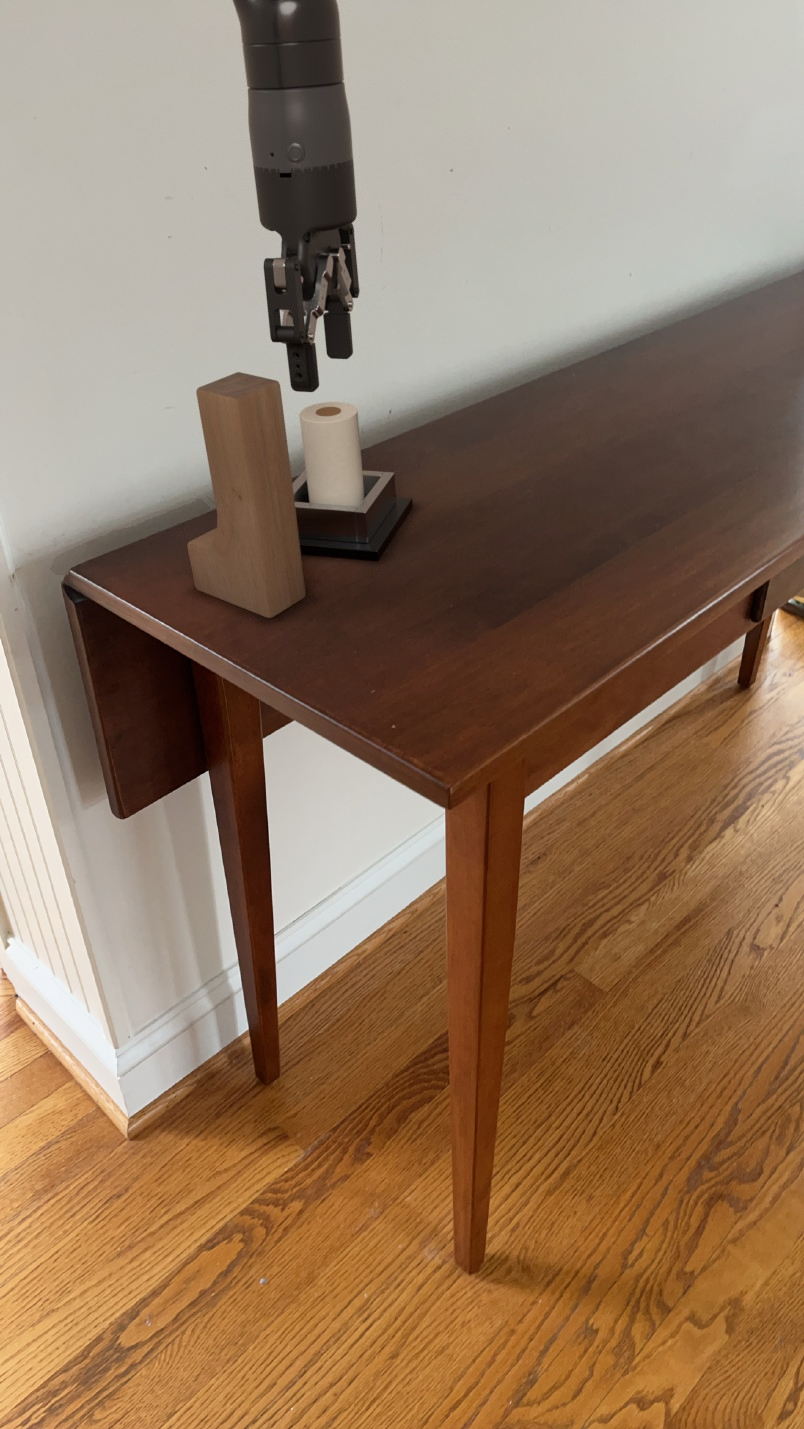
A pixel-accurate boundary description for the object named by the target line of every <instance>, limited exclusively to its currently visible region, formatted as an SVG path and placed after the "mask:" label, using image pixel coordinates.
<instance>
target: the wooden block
mask: <svg viewBox="0 0 804 1429" xmlns="http://www.w3.org/2000/svg"><path fill="white" fill-rule="evenodd" d="M195 394H196V397H197V398H196V399H197V406H198V410H199V416H200V421H201V430H202V434H203V440H204V445H205V452H206V456H207V463H208V468H209V475H210V481H211V486H212V493H213V497H214V498H213V499H214V504H215V509H216V517H217V518H216V527H215V528H213V529H211V530H210V531H208V532H206V533H204V534H202V535H199V536H198V537H196V538H194V539H192V540H190V541H188V542H187V544H186V545H187V546H186V547H187V552H188V557H189V562H190V567H191V573H192V577H193V583H194V587H195V588H196V590H197V591H199V592H201V593H204V594H207V595H209V596H211V597H214V598H217V599H219V600H222V601H224V602H226V603H229V604H231V605H234V606H237V607H239V608H241V609H244V610H246V611H248V612H251V613H254V614H257V615H259V616H262V617H264V618H267V619H271V618H274V617H275V616H277V615H279V614H280V613H282V612H283V611H284V612H285V610H287V609H288V608H290V607H292V606H293V605H295V604H296V603H298V602H300V601H302V600H303V599H304V598H305V597H306V594H307V592H306V583H305V574H304V567H303V560H302V558H303V557H302V554H301V550H300V542H299V534H298V526H297V518H296V510H295V502H294V494H293V485H292V484H293V478H292V471H291V462H290V454H289V446H288V438H287V437H288V436H287V429H286V422H285V414H284V405H283V398H282V390H281V384H280V382H279V381H278V380H277V379H271V378H267V377H262V376H259V375H254V374H249V373H246V372H241V371H236V372H235V373H232V374H229V375H227V376H225V377H224V376H223V377H222V378H219V379H217V380H214V381H212V382H209V383H206V384H203V385H201V386H199V387H198V388H197V389H196V391H195Z"/></svg>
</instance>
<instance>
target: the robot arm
mask: <svg viewBox="0 0 804 1429" xmlns="http://www.w3.org/2000/svg"><path fill="white" fill-rule="evenodd" d="M232 3H233V6H234V9H235V13H236V16H237V19H238V22H239V27H240V35H241V36H240V37H241V44H242V45H241V47H242V55H243V64H244V73H245V79H246V80H245V82H246V87H247V120H248V121H247V122H248V132H249V141H250V142H249V143H250V149H251V158H252V167H253V175H254V183H255V191H256V198H257V199H256V200H257V208H258V217H259V222H260V225H261V226H262V227H263V228H264V229H265V230H268V231H270V232H276V233H277V234H278V235H279V236H280V238H281V245H280V246H281V252H280V257H265V259H264V261H263V274H264V275H263V276H264V287H265V297H266V305H267V315H268V326H269V336H270V337H269V338H270V341H271V342H272V343H281V344H285V346H286V347H285V348H286V356H287V365H288V373H289V383H290V388H291V389H292V390H293V391H294V392H297V393H299V392H301V393H314V392H316V390H318V389H319V387H320V378H319V377H320V376H319V368H318V358H317V357H318V356H317V347H316V342H315V337H316V331H317V330H316V329H317V323H318V319H319V318H321V317H322V318H323V328H324V341H325V349H326V350H325V351H326V356H327V357H328V358H329V359H331V360H348V359H349V358H351V357H352V355H353V354H354V346H353V332H352V320H351V312H353V309H354V305H355V304H354V299H358V298H359V296H360V283H359V282H360V281H359V271H358V260H357V251H356V240H355V228H354V224H353V223H354V222H355V221H356V220H357V216H358V206H357V194H356V180H355V179H356V178H355V163H354V152H353V151H354V150H353V135H352V123H351V114H350V108H349V104H348V98H347V91H346V85H345V82H344V81H345V75H344V74H345V73H344V61H343V44H342V38H341V37H342V30H341V29H342V28H341V18H340V10H339V4H338V0H232ZM281 312H282V316H281Z"/></svg>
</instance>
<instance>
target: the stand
mask: <svg viewBox="0 0 804 1429" xmlns="http://www.w3.org/2000/svg"><path fill="white" fill-rule="evenodd" d="M362 473H363V485H364V497H365V499H364V500H363V502H362V503H361V504H360V506H359V507H356V506H343V505H330V504H317V503H310V502H309V494H308V485H307V476H306V468H305V469H304V470H303V471H302V472H301V473H300V475H298V476H297V478H296V479H295V480H294V481H292V485H293V494H294V502H295V510H296V518H297V526H298V534H299V542H300V550H301V555H305V556H316V557H328V558H340V559H348V560H349V559H350V560H361V561H371V562H372V561H373V562H378V561H379V560H380V559H381V557H382V556H383V554H384V553H385V551H386V550H387V548H388V546H389V545H390V543H391V542H392V540H393V539H394V537H395V535H397V532H398V531H399V530H400V528H401V526H402V525H403V524H404V522H405V521H406V519H407V517H408V515H409V514H410V513H411V511H412V509H413V498H411V497H401V496H400V497H399V496H397V493H396V491H397V490H396V477H395V475H396V474H395V472H391V471H377V470H363V469H362Z"/></svg>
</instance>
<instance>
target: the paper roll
mask: <svg viewBox="0 0 804 1429" xmlns="http://www.w3.org/2000/svg"><path fill="white" fill-rule="evenodd" d="M358 413H359V412H358V408H357V407H356V406H355V405H353V404H351V403H348V402H343V401H342V402H341V401H327V402H319V403H314V404H311V405H309V406H306V407H304V408H303V409H302V410H300V412H299V415H298V416H299V423H300V432H301V440H302V441H301V442H302V450H303V458H304V467H305V469H306V476H307V485H308V494H309V502H310V503H317V504H330V505H343V506H356V507H359V506H360V504H361V503H362V502H363V500H364V499H365V497H364V485H363V473H362V470H363V462H362V460H363V459H362V451H361V450H362V449H361V448H362V447H361V437H360V436H361V435H360V424H359V414H358Z"/></svg>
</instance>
